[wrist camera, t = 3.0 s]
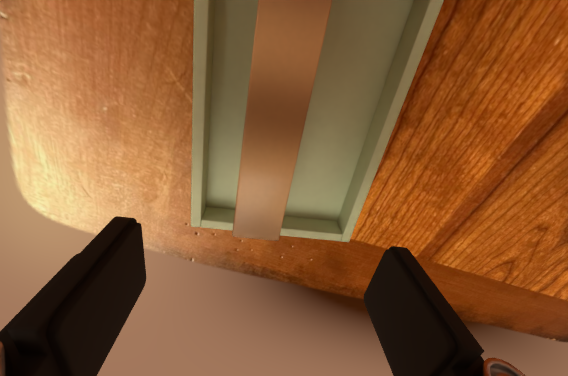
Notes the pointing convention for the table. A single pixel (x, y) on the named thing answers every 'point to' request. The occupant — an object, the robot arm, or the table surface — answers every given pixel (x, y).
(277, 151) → the brush
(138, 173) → the table surface
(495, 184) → the table surface
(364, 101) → the tray
